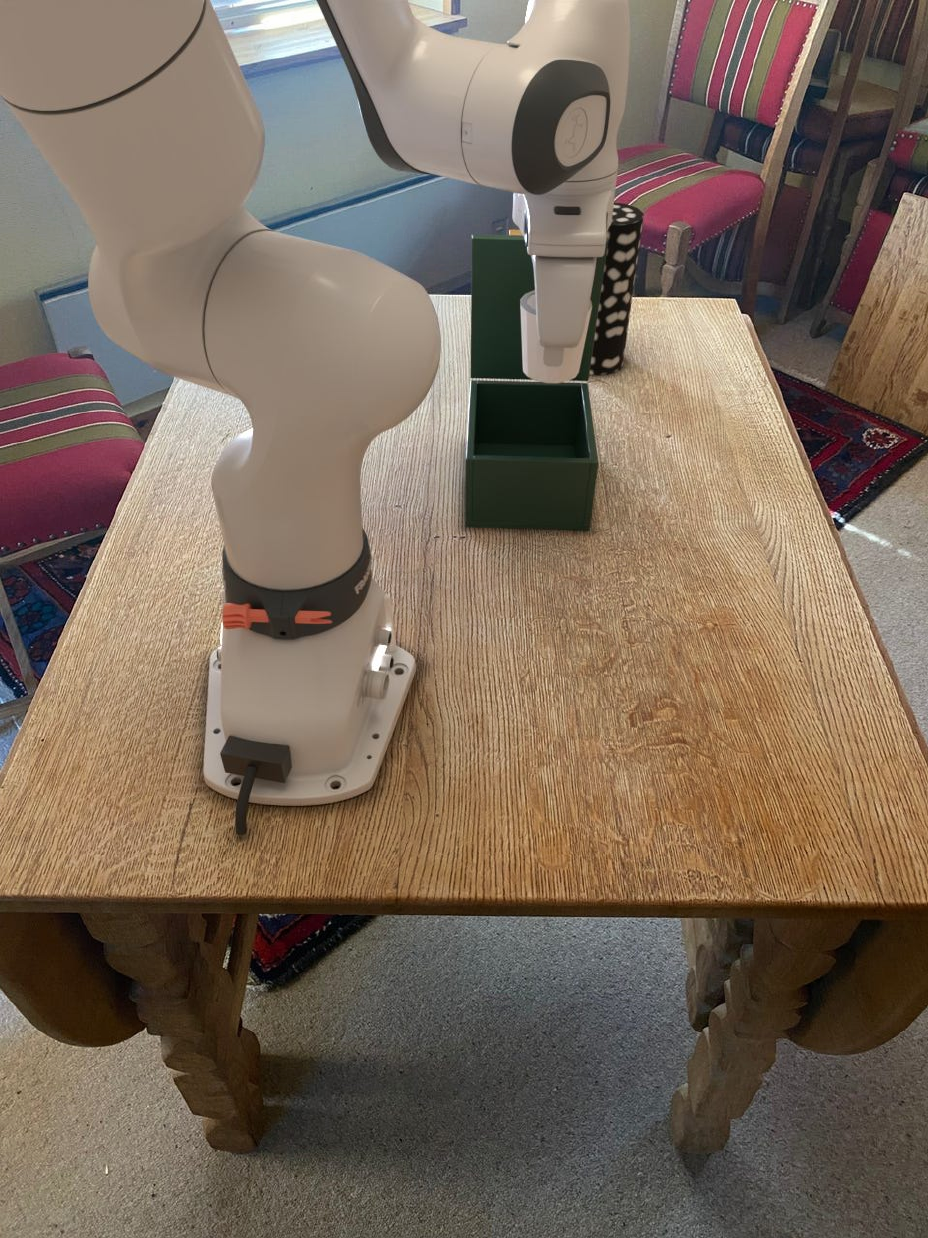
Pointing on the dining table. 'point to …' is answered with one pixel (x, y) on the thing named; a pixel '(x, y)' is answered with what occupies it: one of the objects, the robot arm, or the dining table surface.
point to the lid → (511, 306)
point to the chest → (530, 456)
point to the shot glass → (535, 351)
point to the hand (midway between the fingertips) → (551, 348)
